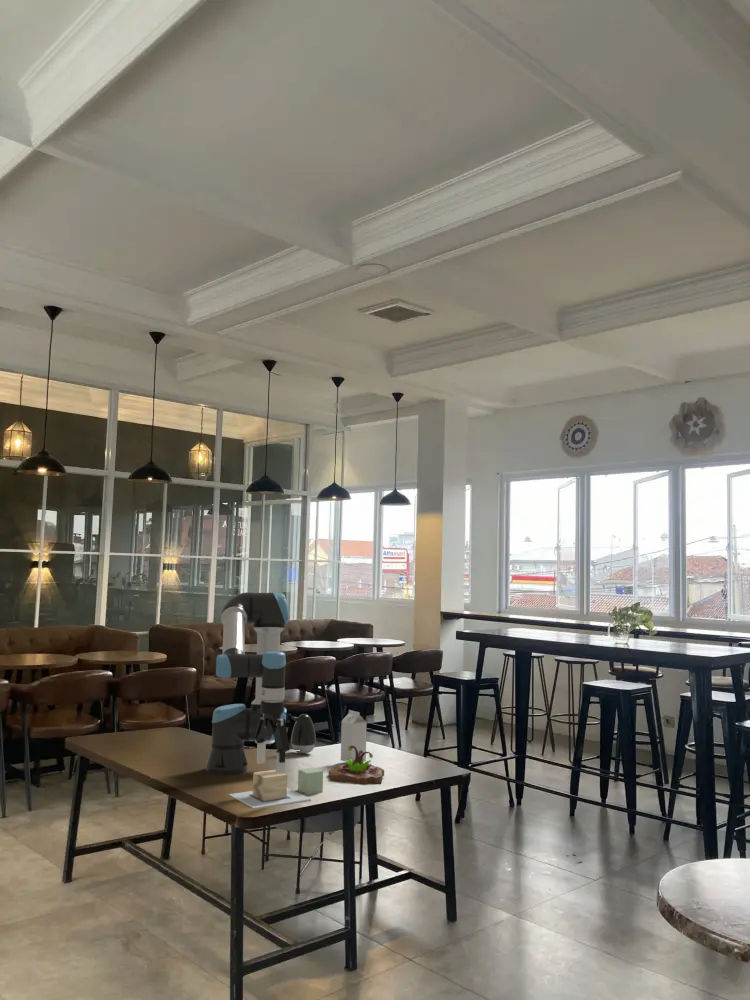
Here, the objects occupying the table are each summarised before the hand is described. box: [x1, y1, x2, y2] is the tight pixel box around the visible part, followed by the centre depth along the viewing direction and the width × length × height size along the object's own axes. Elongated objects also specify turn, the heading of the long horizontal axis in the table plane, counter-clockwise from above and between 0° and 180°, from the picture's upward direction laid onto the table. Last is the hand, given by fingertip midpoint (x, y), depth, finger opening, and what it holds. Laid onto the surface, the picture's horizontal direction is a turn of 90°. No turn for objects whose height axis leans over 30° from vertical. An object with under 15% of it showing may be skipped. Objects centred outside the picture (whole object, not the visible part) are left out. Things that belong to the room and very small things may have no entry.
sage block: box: [297, 767, 324, 795], centre depth 268 cm, size 6×6×7 cm
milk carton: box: [340, 709, 367, 763], centre depth 315 cm, size 7×7×19 cm
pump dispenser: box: [290, 713, 317, 754], centre depth 329 cm, size 10×10×15 cm
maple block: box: [252, 769, 288, 801], centre depth 258 cm, size 8×8×7 cm
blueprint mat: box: [228, 787, 312, 809], centre depth 257 cm, size 18×20×1 cm
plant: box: [328, 746, 385, 785], centre depth 290 cm, size 20×20×11 cm
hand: (270, 768), depth 259 cm, fingers open, 13 cm apart
